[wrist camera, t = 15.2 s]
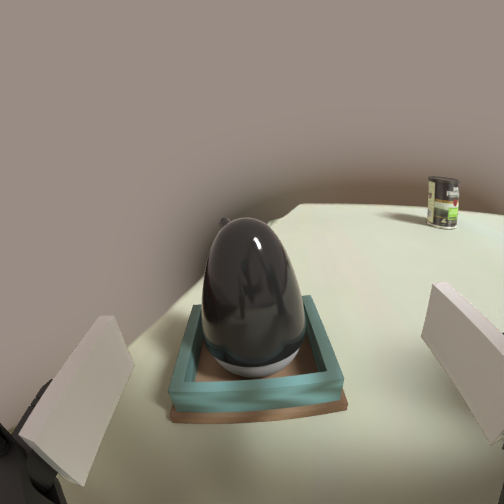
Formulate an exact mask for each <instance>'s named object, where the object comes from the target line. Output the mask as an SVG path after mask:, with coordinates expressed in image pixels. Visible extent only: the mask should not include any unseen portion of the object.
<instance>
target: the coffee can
mask: <svg viewBox="0 0 504 504" xmlns="http://www.w3.org/2000/svg"><path fill="white" fill-rule="evenodd" d="M459 184H460V181H459V180H456V179H452V178H445V177H434V176H431V177H429V197H428V215H427V224H428V225H430V226H433V227H436V228H441V229H455V228H456V227H457V226H456V225H457V215H458V202H459Z"/></svg>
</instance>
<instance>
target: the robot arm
mask: <svg viewBox="0 0 504 504" xmlns="http://www.w3.org/2000/svg"><path fill="white" fill-rule="evenodd" d="M421 338H422V339H423V340H424V342H425V343H426V345H427V346H428V347H429V349H430V350H431V352H432V353H433V354H434V356H435V357H436V359H437V360H438V361H439V363H440V364H441V366H442V367H443V369H444V370H445V372H446V373H447V375H448V376H449V378H450V379H451V381H452V382H453V384H454V385H455V387H456V388H457V390H458V391H459V393H460V394H461V396H462V397H463V399H464V401H465V402H466V404H467V405H468V407H469V409H470V410H471V412H472V414H473V415H474V417H475V419H476V420H477V422H478V424H479V425H480V427H481V429H482V431H483V432H484V434H485V436H486V438H487V439H488V441H489V443H490V445H492V444H494V443H495V442H497V441H498V440H500V439H501V438H503V437H504V333H501V332H500V331H499V330H498V329H497V328H496V327H495V326H494V325H493V324H492V323H491V322H490V321H489V320H488V319H487V318H486V317H485V316H484V315H483V314H482V313H481V312H480V311H479V310H478V309H476V308H475V307H474V306H473V305H472V304H471V303H470V302H469V301H468V300H467V299H466V298H464V297H463V296H462V295H461V294H460V293H459V292H458V291H457V290H455V289H454V288H453V287H452V286H451V285H450V284H448V283H447V282H446V281H445V282H440V283H434V284H432V289H431V295H430V300H429V304H428V309H427V314H426V318H425V322H424V326H423V330H422V334H421ZM134 367H135V364H134V362H133V360H132V358H131V355H130V353H129V351H128V348H127V346H126V344H125V341H124V339H123V337H122V334H121V332H120V329H119V327H118V324H117V321H116V319H115V316H99V318H98V319H97V320H96V322H95V323H94V324H93V325H92V327H91V328H90V329H89V331H88V332H87V333H86V335H85V336H84V337H83V339H82V340H81V341H80V342H79V344H78V345H77V346H76V348H75V349H74V351H73V352H72V353H71V355H70V356H69V358H68V359H67V360H66V362H65V363H64V365H63V366H62V368H61V369H60V370H59V372H58V373H57V375H56V376H55V378H54V379H51V380H50V381H49V382H47V383H46V384H45V385H44V386H43V387H42V388H41V389H40V391H39V392H38V394H37V395H36V399H34V400H33V402H32V403H31V406H29V407H28V409H27V411H26V412H25V414H24V415H23V417H22V419H21V420H20V422H19V423H18V425H17V427H16V428H15V430H14V432H13V433H12V434H11V435H10V433H9V432H8V431H7V430H6V429H5V428H4V427H3V426H2V425H1V423H0V504H67V502H66V499H65V496H64V494H63V491H62V488H61V485H60V483H59V481H58V479H57V478H56V475H57V473H59V474H60V475H61V476H62V477H63V478H65V479H66V480H67V481H69V482H72V483H74V484H77V485H80V486H82V487H84V485H85V483H86V480H87V477H88V475H89V472H90V469H91V467H92V464H93V462H94V459H95V456H96V454H97V451H98V449H99V446H100V444H101V441H102V439H103V437H104V434H105V432H106V429H107V427H108V425H109V422H110V420H111V418H112V415H113V413H114V411H115V408H116V406H117V404H118V402H119V399H120V397H121V395H122V393H123V390H124V388H125V386H126V384H127V382H128V379H129V377H130V375H131V373H132V371H133V369H134ZM502 449H503V450H504V444H503V447H502ZM498 504H504V484H503V488H502V492H501V495H500V499H499V502H498Z"/></svg>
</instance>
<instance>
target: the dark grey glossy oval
mask: <svg viewBox="0 0 504 504" xmlns="http://www.w3.org/2000/svg"><path fill="white" fill-rule="evenodd" d="M219 224H220V227H221V230H220V231H219V233H218V234H217V236H216V238H215V240H214V242H213V244H212V247H211V250H210V253H209V256H208V260H207V264H206V269H205V275H204V282H203V291H202V306H201V315H202V333H203V339H204V343H205V346H206V348H207V350H208V351H209V352H210V353H211V354H212V355H213V356H214V358H215V359H216V360H217V362H218V363H219V364H220V365H221V366H222V367H224V368H225V369H226V370H228V371H230V372H231V373H234V374H236V375H239V376H243V377H250V378H258V377H265V376H269V375H272V374H274V373H277V372H279V371H280V370H282V369H283V368H285V367H286V366H287V365H288V364H289V363H290V362H291V361H292V360H293V359H294V357H295V356H296V354H297V353H298V350H299V348H300V346H301V345H302V343H303V342H304V339H305V336H306V319H305V312H304V306H303V301H302V296H301V292H300V288H299V285H298V282H297V278H296V275H295V272H294V270H293V267H292V264H291V262H290V259H289V257H288V254H287V252H286V250H285V248H284V246H283V245H282V243H281V241H280V240H279V238H278V237H277V235H276V234H275V233H274V231H273V230H272V229H271V228H270V227H269V226H268V225H267V224H265V223H264V222H262V221H260V220H257V219H253V218H239V219H236V220H233V221H230V220H229V219H228V218H222V219H221V220H220V222H219Z"/></svg>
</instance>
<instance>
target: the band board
mask: <svg viewBox="0 0 504 504" xmlns="http://www.w3.org/2000/svg"><path fill="white" fill-rule="evenodd" d="M302 301H303V306H304V312H305V319H306V336H305V339H304V342H303V343H302V345H301V346H300V348H299V350H298V353H297V354H296V356H295V357H294V359H293V360H292V361H291V362H290V363H289V364H288V365H287V366H286V367H285V368H283V369H282V370H280V371H279V372H277V373H274V374H272V375H269V376H265V377H258V378H250V377H243V376H239V375H236V374H234V373H231V372H230V371H228V370H226V369H225V368H224V367H222V366H221V365H220V364H219V363H218V362H217V360H216V359H215V358H214V356H213V355H212V354H211V353H210V352H209V351H208V350H207V348H206V346H205V343H204V339H203V333H202V315H201V306H202V305H193V307H192V311H191V314H190V317H189V320H188V324H187V327H186V330H185V334H184V337H183V340H182V344H181V347H180V351H179V354H178V358H177V361H176V365H175V368H174V372H173V375H172V379H171V383H170V386H169V390H168V392H169V395H170V397H171V399H172V402H173V405H172V409H171V413H170V418H171V420H172V422H173V423H199V424H222V423H249V422H264V421H275V420H285V419H293V418H301V417H308V416H315V415H321V414H327V413H333V412H338V411H343V410H347V406H348V402H347V399H346V396H345V394H344V391H343V388H342V387H343V382H344V377H343V374H342V371H341V369H340V366H339V364H338V361H337V359H336V356H335V353H334V351H333V348H332V346H331V343H330V341H329V338H328V336H327V333H326V331H325V329H324V326H323V324H322V321H321V319H320V316H319V314H318V311H317V309H316V307H315V304H314V302H313V299H312V297H311V295H306V296H302Z"/></svg>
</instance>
